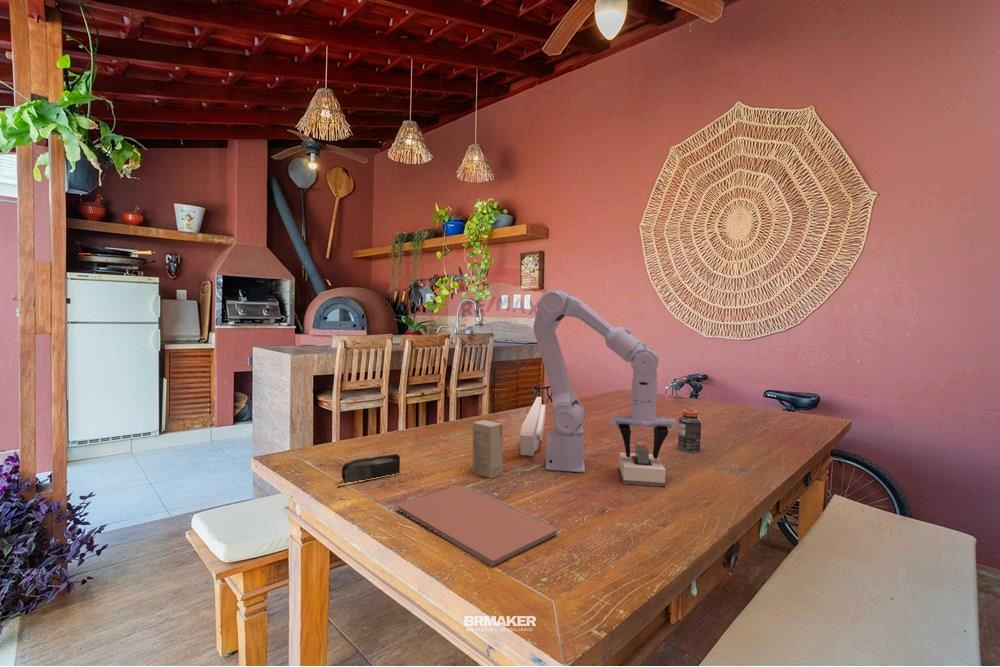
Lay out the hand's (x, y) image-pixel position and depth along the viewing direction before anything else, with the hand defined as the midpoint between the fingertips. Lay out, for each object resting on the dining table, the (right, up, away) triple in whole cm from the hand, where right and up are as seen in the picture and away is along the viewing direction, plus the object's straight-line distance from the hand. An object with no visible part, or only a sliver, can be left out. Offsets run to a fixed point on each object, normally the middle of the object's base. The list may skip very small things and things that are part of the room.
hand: (641, 456), depth 115 cm
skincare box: (-36, -4, 0) cm, 37 cm away
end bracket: (0, -4, 0) cm, 4 cm away
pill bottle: (+20, -4, +24) cm, 31 cm away
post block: (0, -5, 0) cm, 5 cm away
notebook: (-38, -6, -25) cm, 46 cm away
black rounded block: (-63, -4, -5) cm, 63 cm away
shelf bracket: (-24, -3, +24) cm, 34 cm away
